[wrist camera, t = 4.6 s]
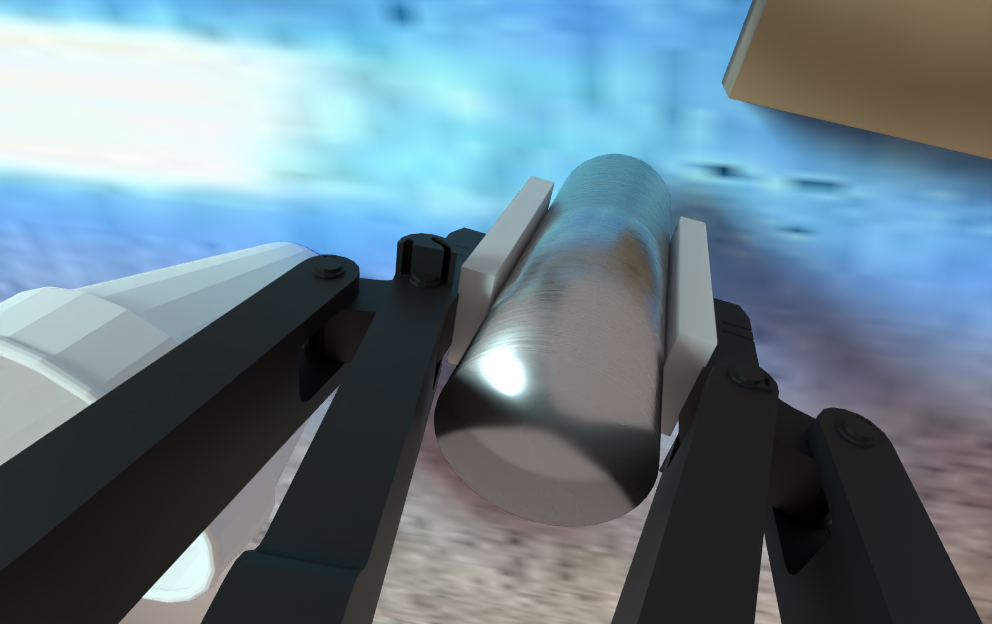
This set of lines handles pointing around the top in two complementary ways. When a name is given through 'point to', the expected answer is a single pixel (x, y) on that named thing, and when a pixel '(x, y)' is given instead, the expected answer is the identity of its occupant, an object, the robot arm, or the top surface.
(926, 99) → the bore block
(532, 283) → the pin
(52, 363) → the cup
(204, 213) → the top surface
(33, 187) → the top surface
